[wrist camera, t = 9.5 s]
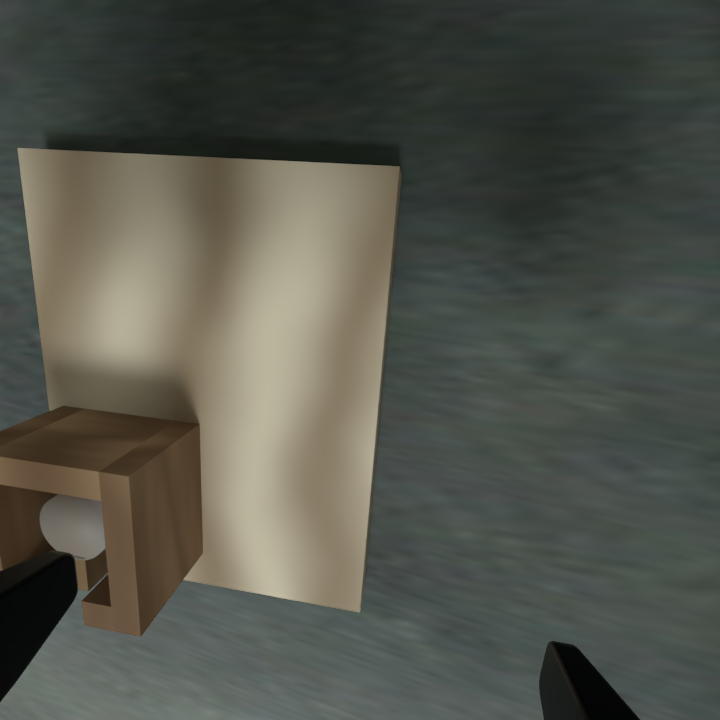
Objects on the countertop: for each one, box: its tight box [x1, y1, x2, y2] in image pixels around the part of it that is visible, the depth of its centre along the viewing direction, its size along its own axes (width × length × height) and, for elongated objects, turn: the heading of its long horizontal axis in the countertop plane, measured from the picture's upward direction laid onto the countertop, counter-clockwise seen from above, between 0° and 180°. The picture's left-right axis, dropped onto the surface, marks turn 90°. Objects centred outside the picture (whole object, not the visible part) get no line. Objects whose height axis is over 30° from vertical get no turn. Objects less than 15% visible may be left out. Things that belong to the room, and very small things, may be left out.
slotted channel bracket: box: [0, 406, 203, 637], centre depth 17 cm, size 7×7×4 cm
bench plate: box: [18, 148, 402, 612], centre depth 17 cm, size 15×19×5 cm
